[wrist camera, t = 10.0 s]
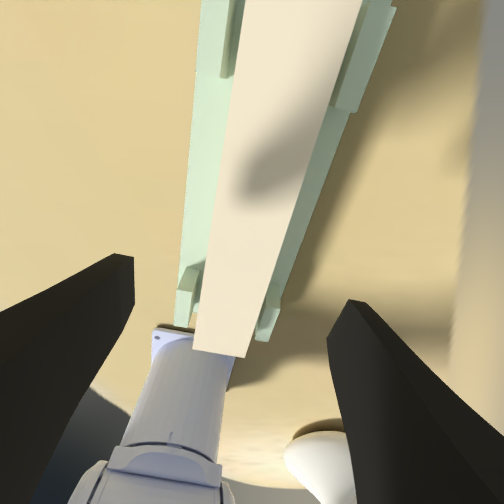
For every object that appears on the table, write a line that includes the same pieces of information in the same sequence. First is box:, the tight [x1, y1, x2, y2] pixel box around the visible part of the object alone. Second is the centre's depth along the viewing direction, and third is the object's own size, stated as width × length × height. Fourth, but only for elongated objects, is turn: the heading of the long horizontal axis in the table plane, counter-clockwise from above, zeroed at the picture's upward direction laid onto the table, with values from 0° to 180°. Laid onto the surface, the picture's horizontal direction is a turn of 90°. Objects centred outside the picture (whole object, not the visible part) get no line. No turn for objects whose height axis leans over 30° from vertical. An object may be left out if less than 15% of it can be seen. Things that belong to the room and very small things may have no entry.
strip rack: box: [174, 0, 397, 342], centre depth 16 cm, size 21×8×4 cm, turn 168°
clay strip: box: [192, 0, 363, 358], centre depth 15 cm, size 18×4×4 cm, turn 168°
